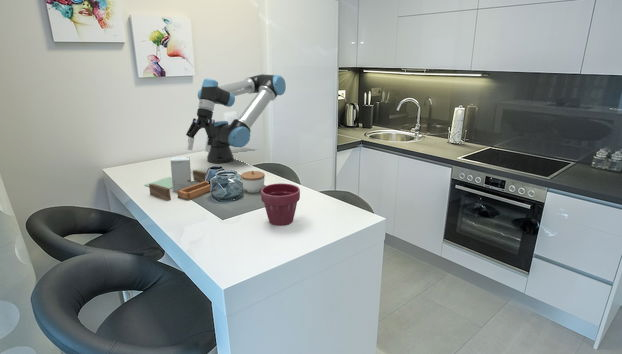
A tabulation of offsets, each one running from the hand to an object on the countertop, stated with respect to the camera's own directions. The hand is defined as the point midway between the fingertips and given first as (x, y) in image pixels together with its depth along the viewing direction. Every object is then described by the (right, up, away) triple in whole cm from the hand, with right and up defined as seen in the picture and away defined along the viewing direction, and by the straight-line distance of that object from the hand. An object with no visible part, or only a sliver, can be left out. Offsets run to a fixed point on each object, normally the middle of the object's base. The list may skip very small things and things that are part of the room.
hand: (198, 150), depth 175 cm
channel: (-3, -19, -13) cm, 23 cm away
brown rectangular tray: (+6, -20, -18) cm, 28 cm away
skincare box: (-3, -19, -13) cm, 23 cm away
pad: (-13, -17, -7) cm, 22 cm away
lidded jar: (+30, -19, -14) cm, 38 cm away
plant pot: (+46, -30, -44) cm, 70 cm away
